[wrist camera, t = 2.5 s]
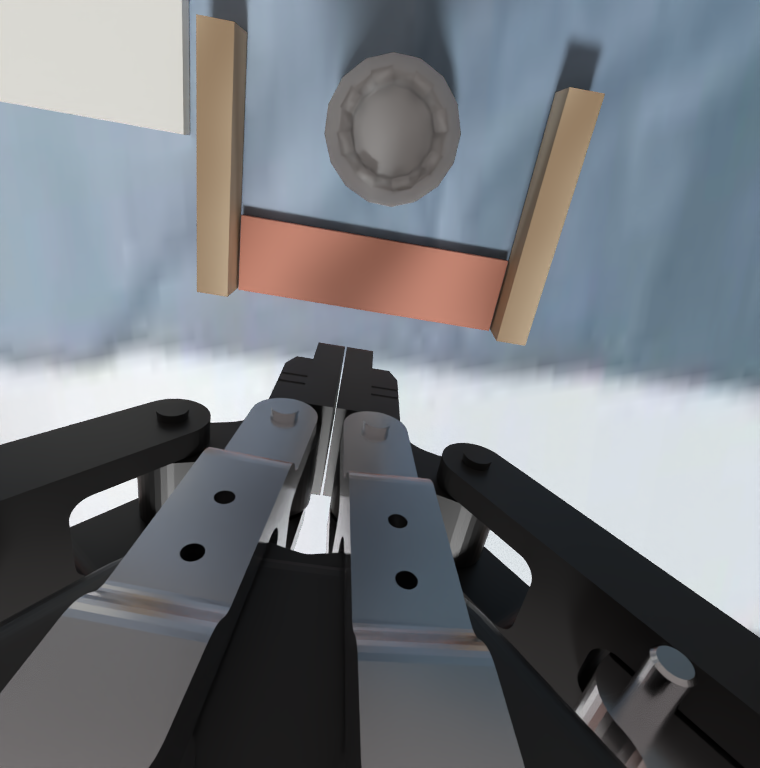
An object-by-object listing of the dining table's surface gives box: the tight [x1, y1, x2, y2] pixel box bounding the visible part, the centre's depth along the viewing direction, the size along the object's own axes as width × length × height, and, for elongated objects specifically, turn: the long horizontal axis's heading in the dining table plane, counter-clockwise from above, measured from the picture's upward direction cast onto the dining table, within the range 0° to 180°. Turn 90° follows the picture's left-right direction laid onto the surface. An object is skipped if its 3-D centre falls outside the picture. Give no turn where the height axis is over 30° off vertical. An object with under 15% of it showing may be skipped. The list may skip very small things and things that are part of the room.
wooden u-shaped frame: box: [196, 14, 605, 345], centre depth 18 cm, size 13×9×2 cm
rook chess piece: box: [325, 52, 461, 207], centre depth 14 cm, size 4×4×8 cm
